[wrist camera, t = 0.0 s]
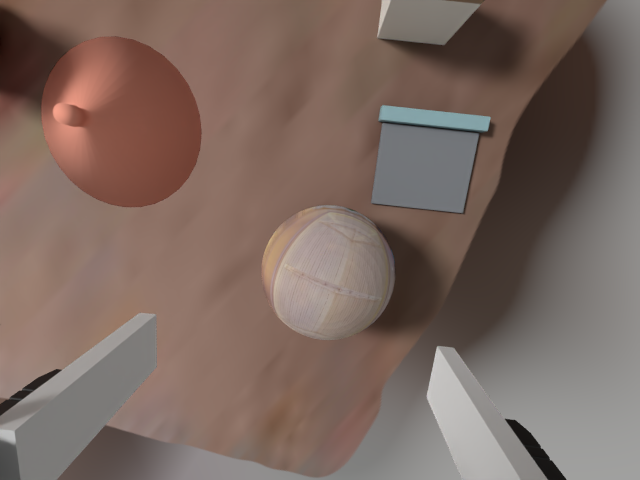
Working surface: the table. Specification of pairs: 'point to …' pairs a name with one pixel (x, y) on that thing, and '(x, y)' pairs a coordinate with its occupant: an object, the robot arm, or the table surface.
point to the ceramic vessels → (121, 121)
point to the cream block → (424, 19)
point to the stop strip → (434, 119)
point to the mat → (423, 167)
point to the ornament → (328, 272)
